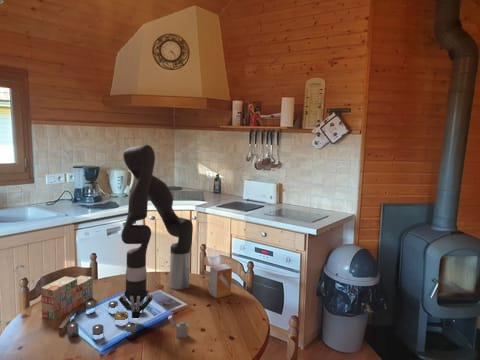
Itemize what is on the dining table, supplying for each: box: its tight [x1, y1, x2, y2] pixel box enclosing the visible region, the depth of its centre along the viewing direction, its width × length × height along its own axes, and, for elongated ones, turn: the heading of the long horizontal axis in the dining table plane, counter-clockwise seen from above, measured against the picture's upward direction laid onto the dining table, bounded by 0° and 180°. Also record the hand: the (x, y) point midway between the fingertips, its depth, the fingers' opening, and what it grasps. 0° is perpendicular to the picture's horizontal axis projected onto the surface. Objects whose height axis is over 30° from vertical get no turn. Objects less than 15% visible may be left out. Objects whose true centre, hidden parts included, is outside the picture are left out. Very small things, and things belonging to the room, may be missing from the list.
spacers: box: [66, 300, 144, 339], centre depth 141 cm, size 24×22×4 cm
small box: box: [208, 263, 233, 299], centre depth 170 cm, size 8×6×13 cm
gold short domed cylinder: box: [114, 311, 129, 321], centre depth 142 cm, size 5×5×4 cm
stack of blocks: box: [40, 275, 94, 321], centre depth 152 cm, size 21×6×12 cm, turn 161°
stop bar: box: [58, 307, 78, 335], centre depth 140 cm, size 2×15×2 cm, turn 6°
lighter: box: [167, 314, 189, 339], centre depth 134 cm, size 7×2×8 cm, turn 100°
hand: (135, 319), depth 142 cm, fingers closed
